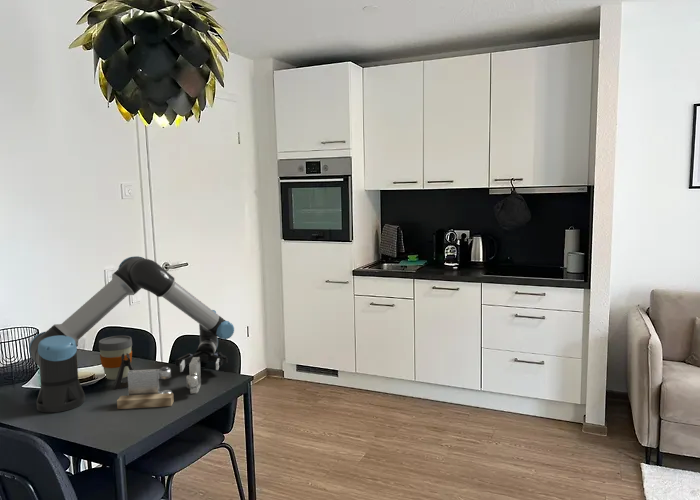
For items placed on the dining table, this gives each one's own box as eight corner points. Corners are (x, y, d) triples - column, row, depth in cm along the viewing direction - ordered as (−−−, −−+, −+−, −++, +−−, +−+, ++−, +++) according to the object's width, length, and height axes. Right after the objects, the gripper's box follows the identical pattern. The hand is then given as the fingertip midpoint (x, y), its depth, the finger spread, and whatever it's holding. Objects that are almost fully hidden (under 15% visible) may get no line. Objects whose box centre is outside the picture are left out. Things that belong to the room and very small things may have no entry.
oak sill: (117, 409, 185) (116, 400, 185) (121, 404, 190) (120, 395, 189) (171, 406, 188) (171, 397, 187) (173, 401, 192) (173, 393, 192)
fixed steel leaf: (128, 403, 190) (126, 371, 189) (131, 399, 194) (129, 367, 193) (170, 401, 192) (169, 369, 191) (173, 396, 196) (171, 365, 195)
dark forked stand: (139, 381, 213) (137, 351, 211) (140, 386, 207) (138, 355, 206) (114, 384, 209) (112, 354, 208) (114, 389, 204) (112, 358, 202)
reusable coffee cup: (96, 375, 220) (93, 339, 218) (127, 368, 228) (125, 333, 226) (106, 383, 210) (104, 346, 209) (138, 375, 219) (136, 339, 217)
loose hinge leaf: (186, 398, 195) (185, 368, 193) (192, 385, 208) (191, 357, 207) (197, 397, 195) (196, 368, 194) (202, 384, 209) (201, 356, 207)
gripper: (235, 358, 233) (231, 375, 212) (176, 361, 229) (166, 378, 208) (235, 341, 232) (231, 356, 211) (175, 344, 229) (165, 359, 208)
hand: (199, 367), depth 210 cm, fingers open, 13 cm apart
